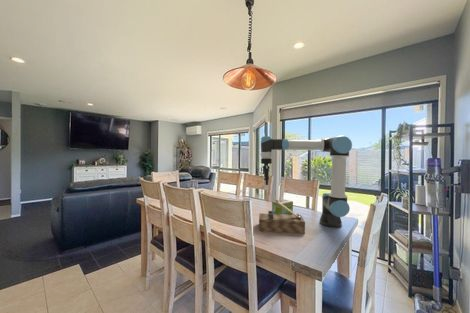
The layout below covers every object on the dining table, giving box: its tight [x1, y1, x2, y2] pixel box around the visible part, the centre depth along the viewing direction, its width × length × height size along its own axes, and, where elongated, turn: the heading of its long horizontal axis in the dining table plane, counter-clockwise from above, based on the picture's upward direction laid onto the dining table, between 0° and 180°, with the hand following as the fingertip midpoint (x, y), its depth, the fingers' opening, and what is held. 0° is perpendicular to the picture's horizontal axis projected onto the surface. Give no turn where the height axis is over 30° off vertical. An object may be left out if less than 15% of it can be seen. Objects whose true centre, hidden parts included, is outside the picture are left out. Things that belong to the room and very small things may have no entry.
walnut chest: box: [258, 210, 306, 234], centre depth 146 cm, size 30×14×11 cm, turn 83°
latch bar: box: [274, 198, 300, 218], centre depth 145 cm, size 21×4×2 cm
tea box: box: [271, 198, 294, 215], centre depth 165 cm, size 15×10×15 cm
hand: (266, 187), depth 148 cm, fingers open, 13 cm apart
